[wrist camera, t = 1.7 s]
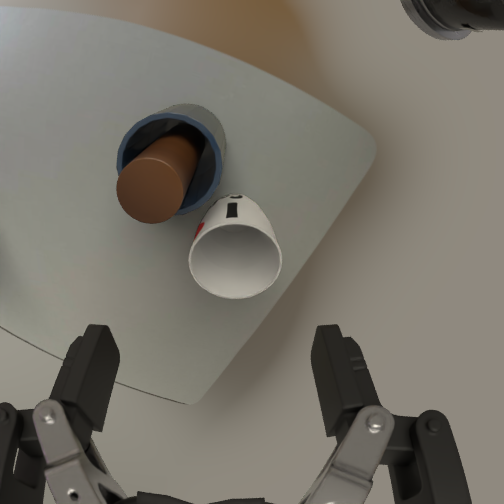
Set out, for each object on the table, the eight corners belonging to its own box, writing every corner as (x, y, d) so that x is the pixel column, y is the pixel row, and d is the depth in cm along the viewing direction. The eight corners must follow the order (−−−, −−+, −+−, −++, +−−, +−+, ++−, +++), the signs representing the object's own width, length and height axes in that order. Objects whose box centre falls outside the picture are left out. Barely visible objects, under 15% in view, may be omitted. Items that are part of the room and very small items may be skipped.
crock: (188, 87, 27) (169, 89, 19) (242, 145, 30) (244, 170, 23) (131, 142, 29) (97, 166, 22) (184, 195, 33) (168, 234, 25)
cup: (243, 166, 32) (245, 203, 23) (283, 220, 35) (299, 270, 27) (185, 208, 34) (169, 256, 25) (228, 255, 38) (227, 311, 29)
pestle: (185, 115, 28) (147, 143, 16) (213, 145, 30) (198, 193, 18) (155, 143, 29) (103, 191, 17) (183, 172, 31) (151, 236, 19)
